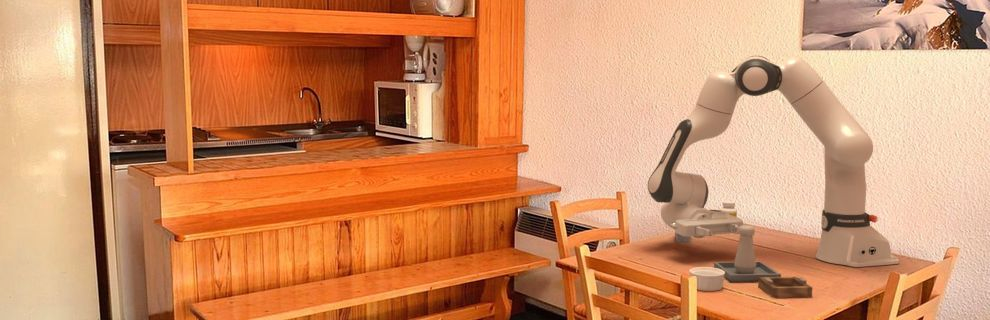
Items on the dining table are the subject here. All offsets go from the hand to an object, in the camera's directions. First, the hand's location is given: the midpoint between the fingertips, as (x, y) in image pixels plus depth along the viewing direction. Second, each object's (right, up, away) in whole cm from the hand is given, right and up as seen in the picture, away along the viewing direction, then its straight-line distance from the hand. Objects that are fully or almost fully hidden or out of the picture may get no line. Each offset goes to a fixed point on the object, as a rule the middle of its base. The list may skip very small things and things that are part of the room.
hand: (724, 232), depth 244 cm
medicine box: (-4, -5, +34) cm, 34 cm away
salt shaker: (+3, -11, -8) cm, 14 cm away
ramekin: (-10, -13, -20) cm, 25 cm away
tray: (+4, -11, -9) cm, 14 cm away
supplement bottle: (+14, -4, +47) cm, 49 cm away
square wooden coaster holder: (+9, -13, -24) cm, 29 cm away
